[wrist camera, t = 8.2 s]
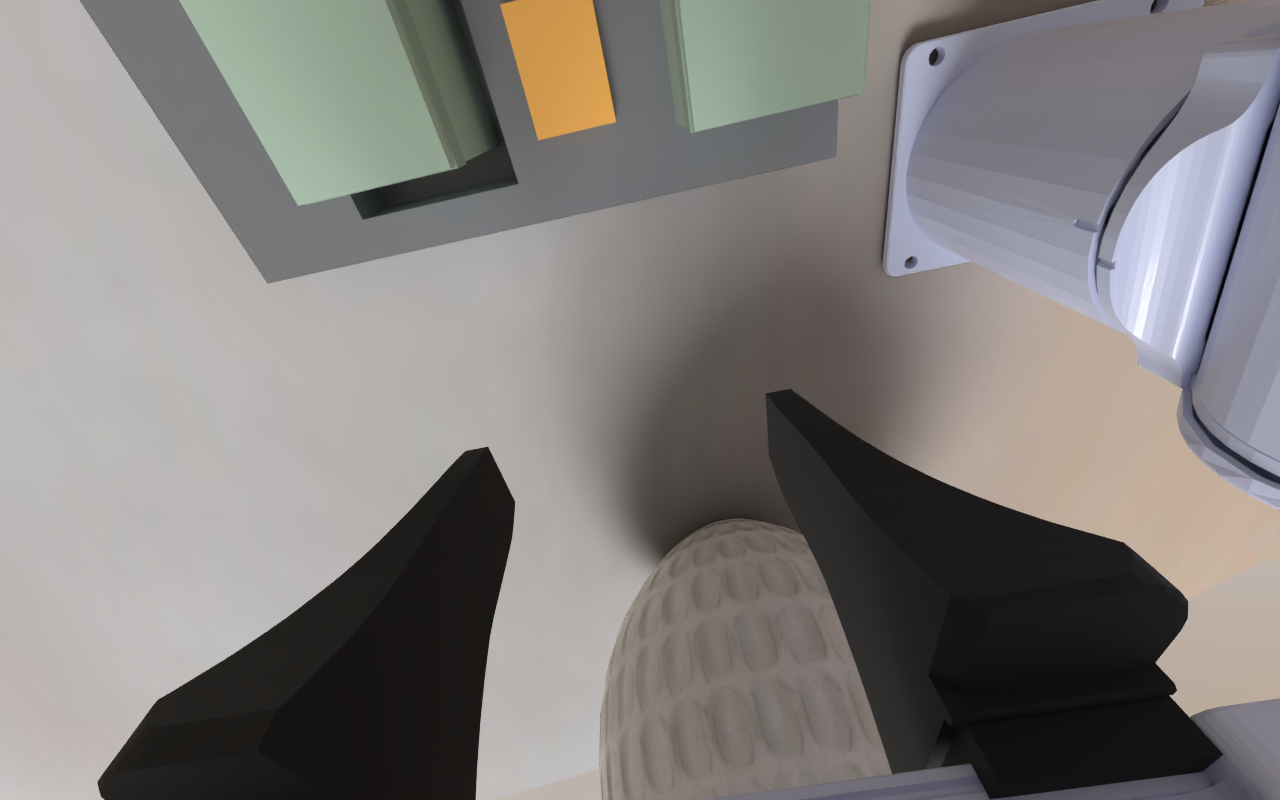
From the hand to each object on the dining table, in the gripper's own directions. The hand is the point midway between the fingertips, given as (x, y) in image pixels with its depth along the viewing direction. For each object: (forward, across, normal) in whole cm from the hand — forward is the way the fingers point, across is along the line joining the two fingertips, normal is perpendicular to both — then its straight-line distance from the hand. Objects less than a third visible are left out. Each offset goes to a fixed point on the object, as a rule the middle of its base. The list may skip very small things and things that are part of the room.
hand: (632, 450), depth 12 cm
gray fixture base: (+10, +2, -8) cm, 13 cm away
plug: (+9, +5, -9) cm, 14 cm away
